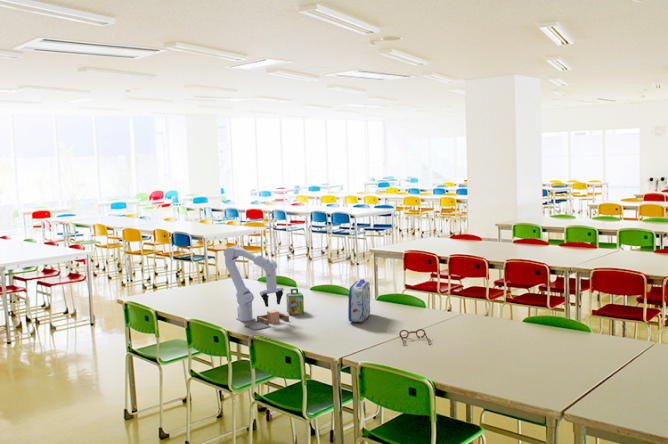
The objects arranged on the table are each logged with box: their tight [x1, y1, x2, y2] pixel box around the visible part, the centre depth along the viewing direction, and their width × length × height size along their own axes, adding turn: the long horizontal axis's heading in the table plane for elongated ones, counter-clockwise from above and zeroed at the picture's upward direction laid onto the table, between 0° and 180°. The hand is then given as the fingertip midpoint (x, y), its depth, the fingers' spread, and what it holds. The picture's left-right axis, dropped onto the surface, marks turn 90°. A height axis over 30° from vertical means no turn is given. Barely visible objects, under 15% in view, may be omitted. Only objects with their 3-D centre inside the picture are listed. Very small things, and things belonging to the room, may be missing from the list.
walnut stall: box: [256, 311, 290, 326], centre depth 334 cm, size 12×14×3 cm
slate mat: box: [244, 321, 272, 331], centre depth 324 cm, size 12×10×1 cm
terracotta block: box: [266, 309, 280, 324], centre depth 334 cm, size 5×5×6 cm
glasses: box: [399, 328, 431, 346], centre depth 287 cm, size 13×13×5 cm
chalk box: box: [285, 287, 305, 316], centre depth 352 cm, size 9×9×15 cm
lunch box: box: [347, 279, 371, 323], centre depth 333 cm, size 28×10×22 cm, turn 168°
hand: (272, 305), depth 333 cm, fingers open, 7 cm apart
